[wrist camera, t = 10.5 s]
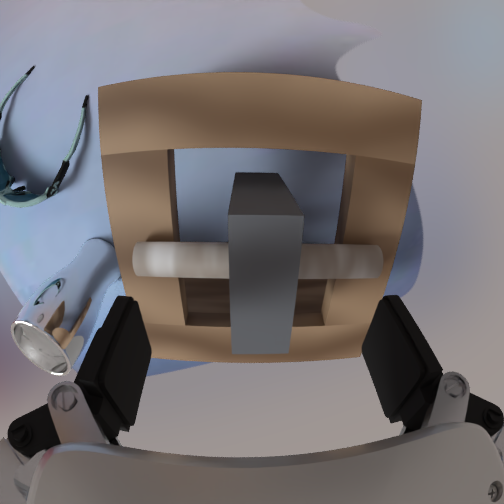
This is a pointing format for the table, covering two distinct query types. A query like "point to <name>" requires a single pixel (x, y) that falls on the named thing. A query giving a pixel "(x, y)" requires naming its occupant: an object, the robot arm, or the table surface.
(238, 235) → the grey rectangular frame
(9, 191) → the sunglasses
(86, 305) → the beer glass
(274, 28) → the table surface
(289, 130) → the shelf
